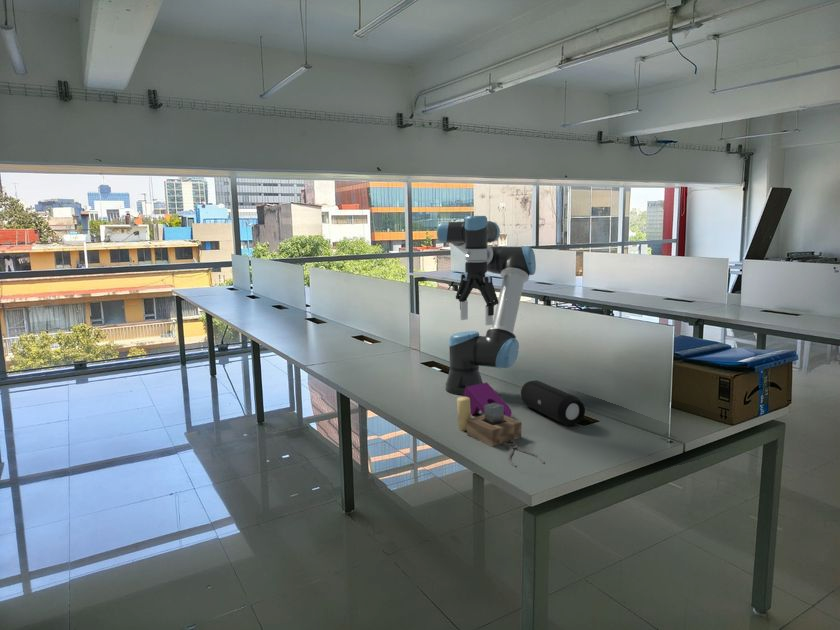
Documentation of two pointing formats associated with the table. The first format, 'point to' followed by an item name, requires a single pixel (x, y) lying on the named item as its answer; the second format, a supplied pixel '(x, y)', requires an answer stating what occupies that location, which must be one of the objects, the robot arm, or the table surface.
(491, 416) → the square peg
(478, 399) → the mounting bracket
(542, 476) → the table surface
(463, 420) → the round peg
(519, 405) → the table surface
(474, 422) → the socket block
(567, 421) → the portable speaker
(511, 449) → the pliers
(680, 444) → the table surface
